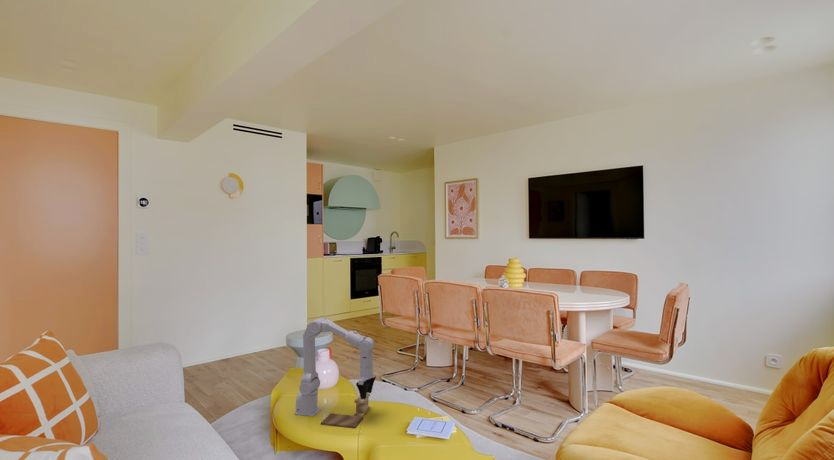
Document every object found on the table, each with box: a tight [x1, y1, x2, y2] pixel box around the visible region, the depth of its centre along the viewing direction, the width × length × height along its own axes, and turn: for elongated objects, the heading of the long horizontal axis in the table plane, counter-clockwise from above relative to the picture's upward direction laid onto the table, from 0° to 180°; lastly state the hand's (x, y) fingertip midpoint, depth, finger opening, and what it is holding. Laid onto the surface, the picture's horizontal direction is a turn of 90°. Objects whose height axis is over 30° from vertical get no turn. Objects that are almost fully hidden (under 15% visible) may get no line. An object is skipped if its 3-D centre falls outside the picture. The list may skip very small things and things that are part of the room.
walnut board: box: [320, 413, 364, 429], centre depth 176 cm, size 16×10×1 cm, turn 78°
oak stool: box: [353, 393, 371, 418], centre depth 187 cm, size 4×10×7 cm, turn 168°
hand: (366, 395), depth 181 cm, fingers open, 7 cm apart
